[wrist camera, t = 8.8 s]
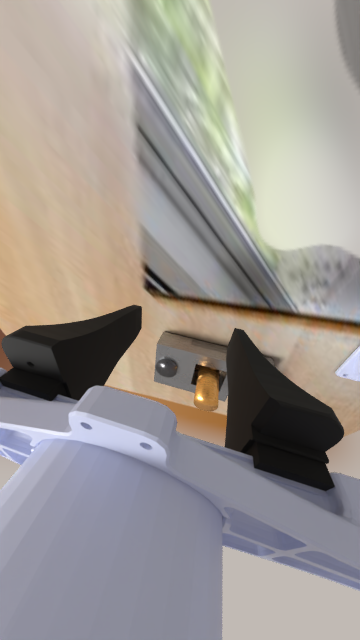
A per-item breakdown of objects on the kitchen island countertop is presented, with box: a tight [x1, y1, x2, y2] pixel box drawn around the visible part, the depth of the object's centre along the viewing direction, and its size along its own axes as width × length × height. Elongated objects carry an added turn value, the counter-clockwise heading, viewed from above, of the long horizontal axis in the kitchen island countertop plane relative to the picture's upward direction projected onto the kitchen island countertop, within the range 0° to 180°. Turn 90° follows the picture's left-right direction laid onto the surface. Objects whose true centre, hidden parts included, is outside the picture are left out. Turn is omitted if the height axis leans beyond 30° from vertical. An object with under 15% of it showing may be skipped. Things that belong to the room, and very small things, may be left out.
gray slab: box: [154, 332, 275, 401], centre depth 25 cm, size 16×8×4 cm, turn 82°
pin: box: [194, 365, 219, 411], centre depth 23 cm, size 3×3×7 cm
